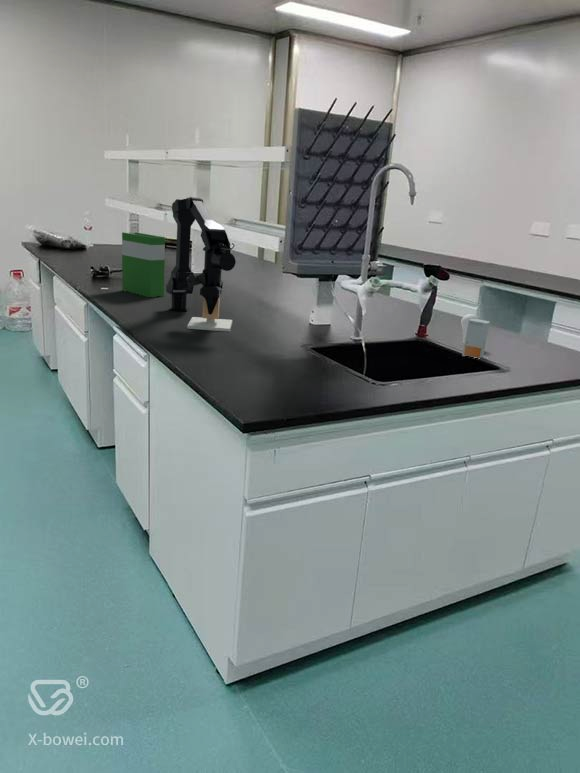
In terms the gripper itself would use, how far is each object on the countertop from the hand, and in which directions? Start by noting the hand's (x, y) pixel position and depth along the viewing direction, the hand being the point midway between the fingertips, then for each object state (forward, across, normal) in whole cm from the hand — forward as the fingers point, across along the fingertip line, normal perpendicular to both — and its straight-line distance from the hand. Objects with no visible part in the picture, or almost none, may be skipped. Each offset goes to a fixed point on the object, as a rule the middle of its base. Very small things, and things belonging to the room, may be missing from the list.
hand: (210, 312), depth 202 cm
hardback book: (+5, -51, -33) cm, 61 cm away
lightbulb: (+5, +1, +89) cm, 89 cm away
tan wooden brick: (+2, 0, 0) cm, 2 cm away
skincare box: (+5, +17, +86) cm, 88 cm away
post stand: (+4, 0, 0) cm, 4 cm away
